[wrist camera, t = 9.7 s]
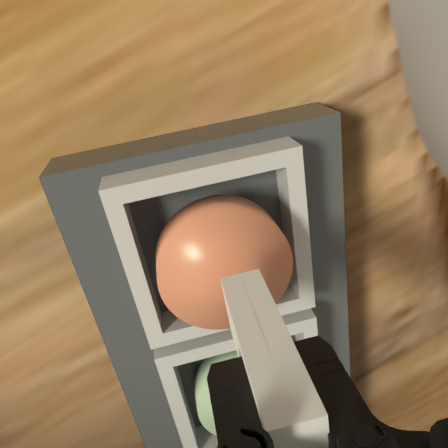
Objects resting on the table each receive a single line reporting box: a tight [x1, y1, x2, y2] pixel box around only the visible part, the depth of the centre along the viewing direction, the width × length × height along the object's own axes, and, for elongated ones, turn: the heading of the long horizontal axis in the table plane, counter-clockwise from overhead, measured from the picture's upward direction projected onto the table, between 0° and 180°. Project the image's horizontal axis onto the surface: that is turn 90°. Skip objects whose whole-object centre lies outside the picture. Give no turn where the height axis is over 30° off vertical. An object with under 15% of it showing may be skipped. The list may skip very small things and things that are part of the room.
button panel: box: [39, 102, 351, 448], centre depth 25 cm, size 14×29×5 cm, turn 10°
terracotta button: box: [155, 195, 293, 330], centre depth 18 cm, size 6×6×2 cm
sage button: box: [194, 350, 238, 436], centre depth 24 cm, size 6×6×2 cm
